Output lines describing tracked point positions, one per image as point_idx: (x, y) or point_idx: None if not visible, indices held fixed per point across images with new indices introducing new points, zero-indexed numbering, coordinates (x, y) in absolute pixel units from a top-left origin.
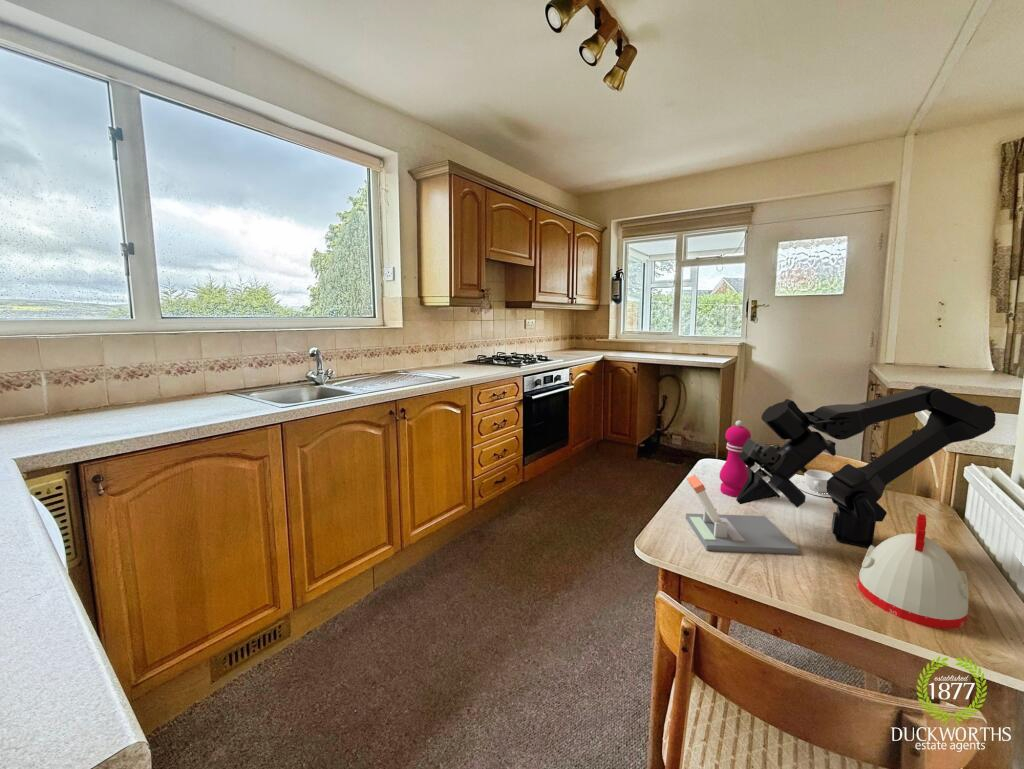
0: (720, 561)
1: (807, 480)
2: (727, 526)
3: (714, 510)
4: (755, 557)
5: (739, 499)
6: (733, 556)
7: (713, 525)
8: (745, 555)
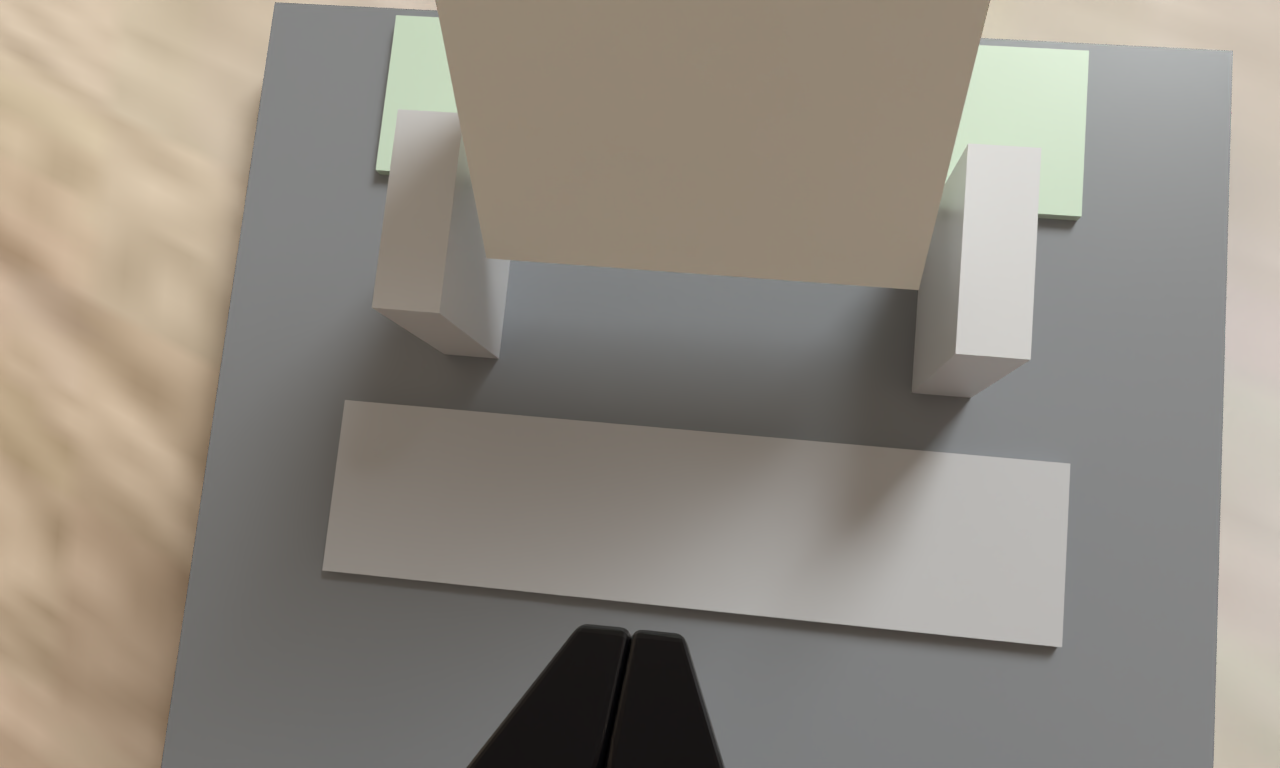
0: (75, 104)
1: None
2: (387, 313)
3: (450, 16)
4: (113, 575)
5: (549, 668)
6: (158, 307)
7: (817, 326)
8: (166, 470)
